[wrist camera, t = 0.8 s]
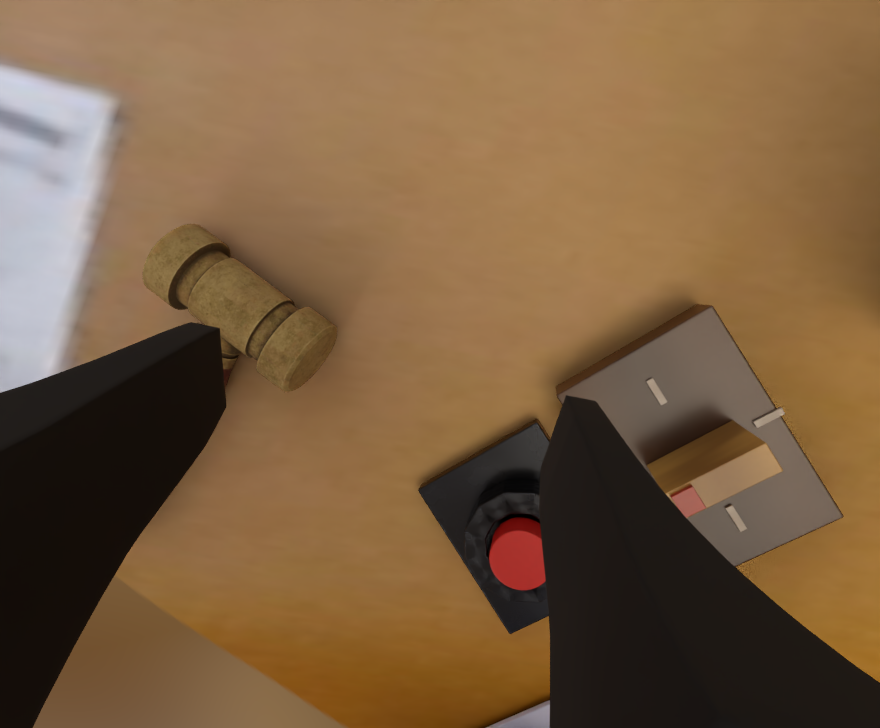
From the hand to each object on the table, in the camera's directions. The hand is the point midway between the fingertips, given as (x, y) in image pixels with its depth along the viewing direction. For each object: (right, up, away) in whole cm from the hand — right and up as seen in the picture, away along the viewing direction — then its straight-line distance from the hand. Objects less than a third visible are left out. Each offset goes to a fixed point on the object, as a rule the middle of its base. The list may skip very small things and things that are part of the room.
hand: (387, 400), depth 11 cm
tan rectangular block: (+14, -4, +15) cm, 21 cm away
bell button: (+5, -9, +18) cm, 21 cm away
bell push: (+6, -9, +20) cm, 23 cm away
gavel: (-14, -2, +23) cm, 27 cm away
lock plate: (+14, -3, +18) cm, 23 cm away
